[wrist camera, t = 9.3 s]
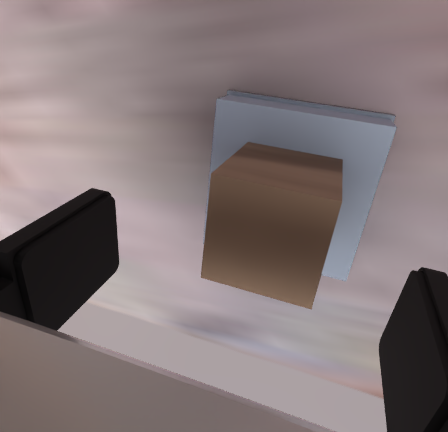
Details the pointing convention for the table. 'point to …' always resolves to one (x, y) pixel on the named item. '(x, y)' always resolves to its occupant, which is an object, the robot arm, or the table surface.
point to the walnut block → (272, 221)
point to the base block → (313, 152)
